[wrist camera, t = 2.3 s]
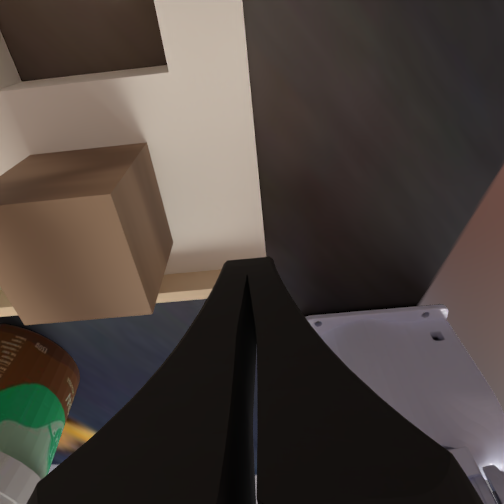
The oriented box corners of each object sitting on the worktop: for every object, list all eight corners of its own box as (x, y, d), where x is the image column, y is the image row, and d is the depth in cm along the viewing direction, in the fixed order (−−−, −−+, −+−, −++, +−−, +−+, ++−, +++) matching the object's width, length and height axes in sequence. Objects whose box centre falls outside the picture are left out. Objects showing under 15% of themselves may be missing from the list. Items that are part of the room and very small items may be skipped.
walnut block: (147, 142, 15) (110, 194, 11) (173, 242, 18) (152, 314, 14) (30, 154, 15) (-49, 210, 11) (74, 252, 18) (24, 325, 14)
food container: (95, 423, 31) (41, 574, 23) (18, 414, 30) (-67, 569, 22) (97, 322, 24) (21, 485, 16) (-2, 307, 23) (-136, 472, 15)
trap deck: (219, -239, 11) (205, -386, 7) (265, 248, 21) (270, 306, 17) (-387, -151, 12) (-724, -234, 8) (-64, 278, 22) (-135, 342, 18)
